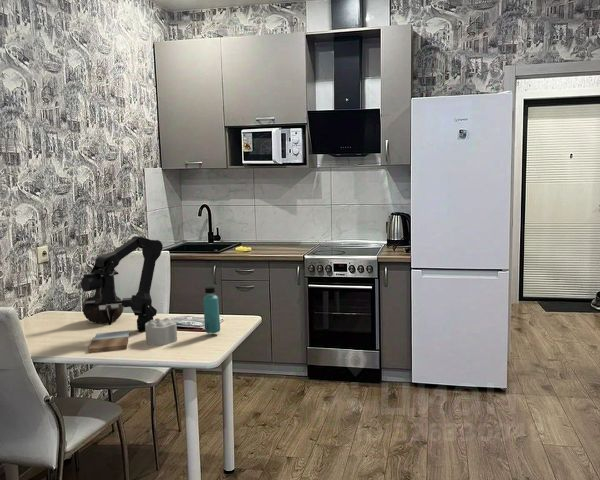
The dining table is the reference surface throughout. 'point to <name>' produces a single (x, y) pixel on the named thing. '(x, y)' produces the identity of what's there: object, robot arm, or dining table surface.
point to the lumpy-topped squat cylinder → (160, 332)
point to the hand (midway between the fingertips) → (110, 324)
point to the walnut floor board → (108, 344)
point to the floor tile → (111, 335)
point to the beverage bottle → (211, 311)
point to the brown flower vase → (99, 316)
